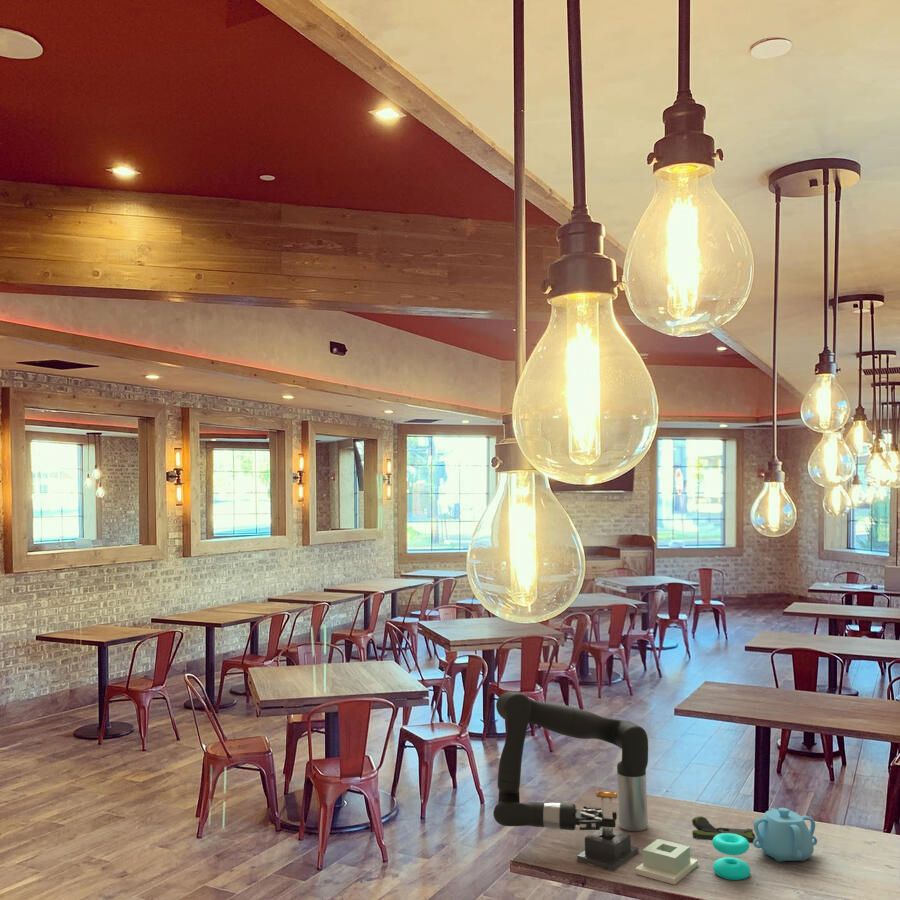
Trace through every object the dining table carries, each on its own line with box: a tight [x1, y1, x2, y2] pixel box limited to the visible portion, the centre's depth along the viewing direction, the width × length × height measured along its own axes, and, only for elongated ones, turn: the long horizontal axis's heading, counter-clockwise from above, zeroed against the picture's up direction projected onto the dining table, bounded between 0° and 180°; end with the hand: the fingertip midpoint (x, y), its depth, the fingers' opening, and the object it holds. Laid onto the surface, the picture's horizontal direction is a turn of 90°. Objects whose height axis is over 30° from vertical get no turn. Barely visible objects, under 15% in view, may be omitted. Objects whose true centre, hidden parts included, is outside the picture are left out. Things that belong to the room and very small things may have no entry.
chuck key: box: [595, 791, 618, 840], centre depth 262 cm, size 7×3×18 cm, turn 76°
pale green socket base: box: [634, 838, 699, 885], centre depth 252 cm, size 16×12×6 cm
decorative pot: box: [752, 807, 818, 863], centre depth 261 cm, size 16×16×14 cm
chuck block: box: [576, 828, 640, 872], centre depth 262 cm, size 16×12×6 cm
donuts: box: [711, 833, 751, 881], centre depth 248 cm, size 10×10×10 cm
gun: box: [691, 816, 757, 843], centre depth 279 cm, size 2×19×15 cm
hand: (615, 819), depth 262 cm, fingers open, 5 cm apart
